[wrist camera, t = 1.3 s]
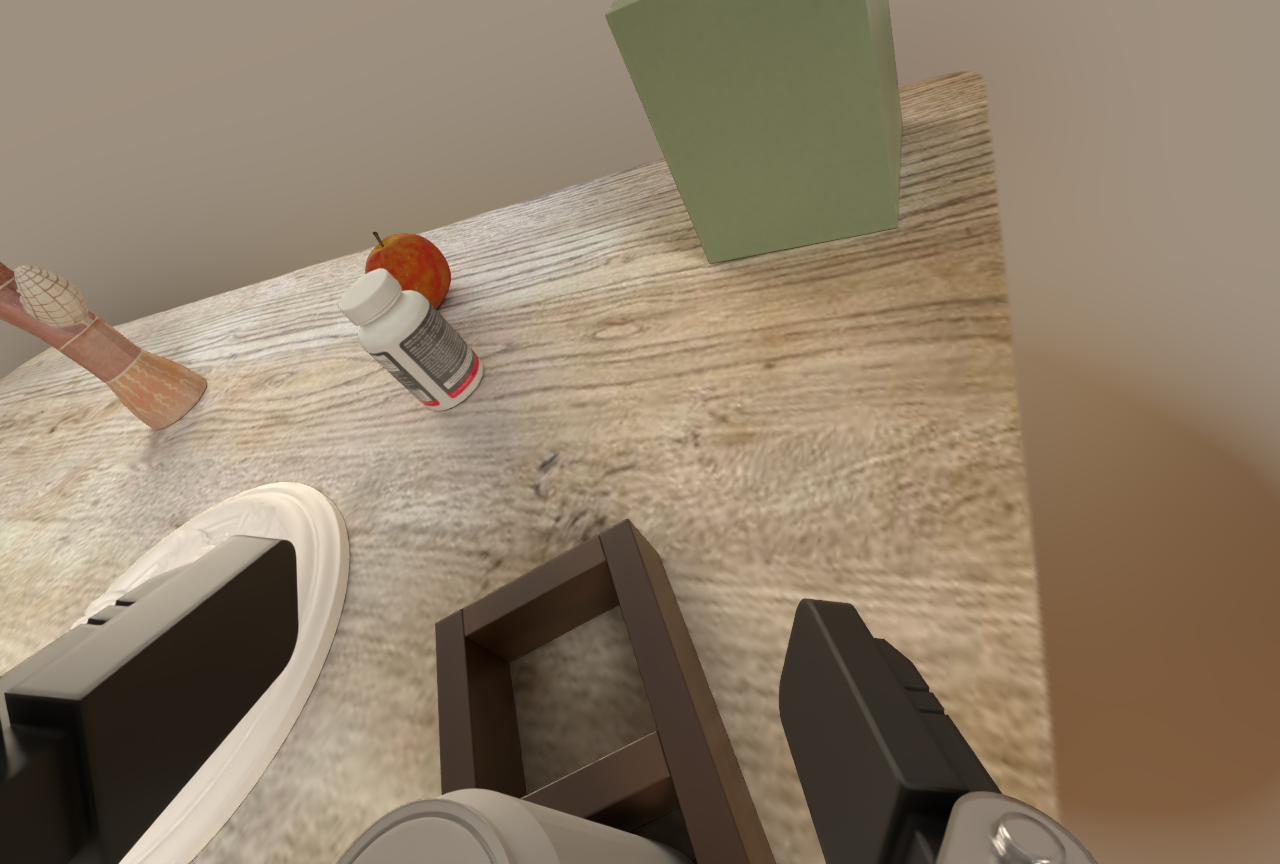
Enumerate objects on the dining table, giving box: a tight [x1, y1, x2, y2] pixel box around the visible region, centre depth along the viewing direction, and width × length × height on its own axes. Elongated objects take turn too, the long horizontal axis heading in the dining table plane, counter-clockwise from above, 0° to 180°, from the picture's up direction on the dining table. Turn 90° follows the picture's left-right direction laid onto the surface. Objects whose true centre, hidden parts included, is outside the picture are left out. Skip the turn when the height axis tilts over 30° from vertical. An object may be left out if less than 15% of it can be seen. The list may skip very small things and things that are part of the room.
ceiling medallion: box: [68, 482, 350, 864], centre depth 38 cm, size 28×28×3 cm
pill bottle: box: [338, 268, 483, 411], centre depth 42 cm, size 5×5×10 cm
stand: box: [605, 0, 902, 264], centre depth 36 cm, size 12×12×16 cm
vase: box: [0, 262, 206, 430], centre depth 58 cm, size 11×7×30 cm
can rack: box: [435, 519, 776, 864], centre depth 21 cm, size 10×19×4 cm, turn 18°
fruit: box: [365, 232, 451, 309], centre depth 53 cm, size 7×7×8 cm
